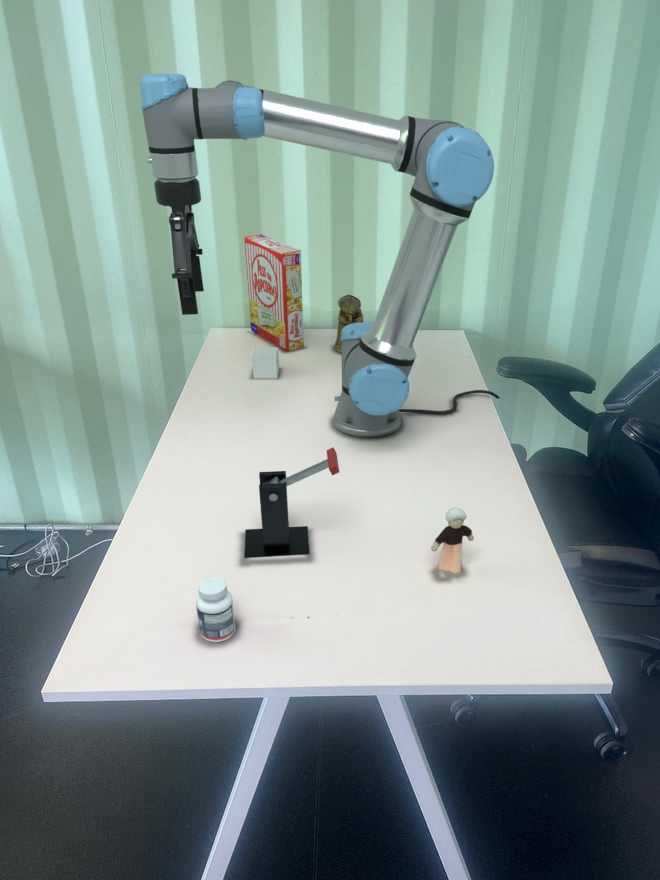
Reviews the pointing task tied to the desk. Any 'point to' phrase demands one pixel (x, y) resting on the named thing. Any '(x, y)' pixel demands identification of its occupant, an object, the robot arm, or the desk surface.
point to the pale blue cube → (265, 362)
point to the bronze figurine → (347, 316)
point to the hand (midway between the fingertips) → (193, 302)
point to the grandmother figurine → (452, 540)
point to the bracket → (275, 524)
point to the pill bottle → (215, 610)
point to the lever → (311, 470)
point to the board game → (275, 291)
